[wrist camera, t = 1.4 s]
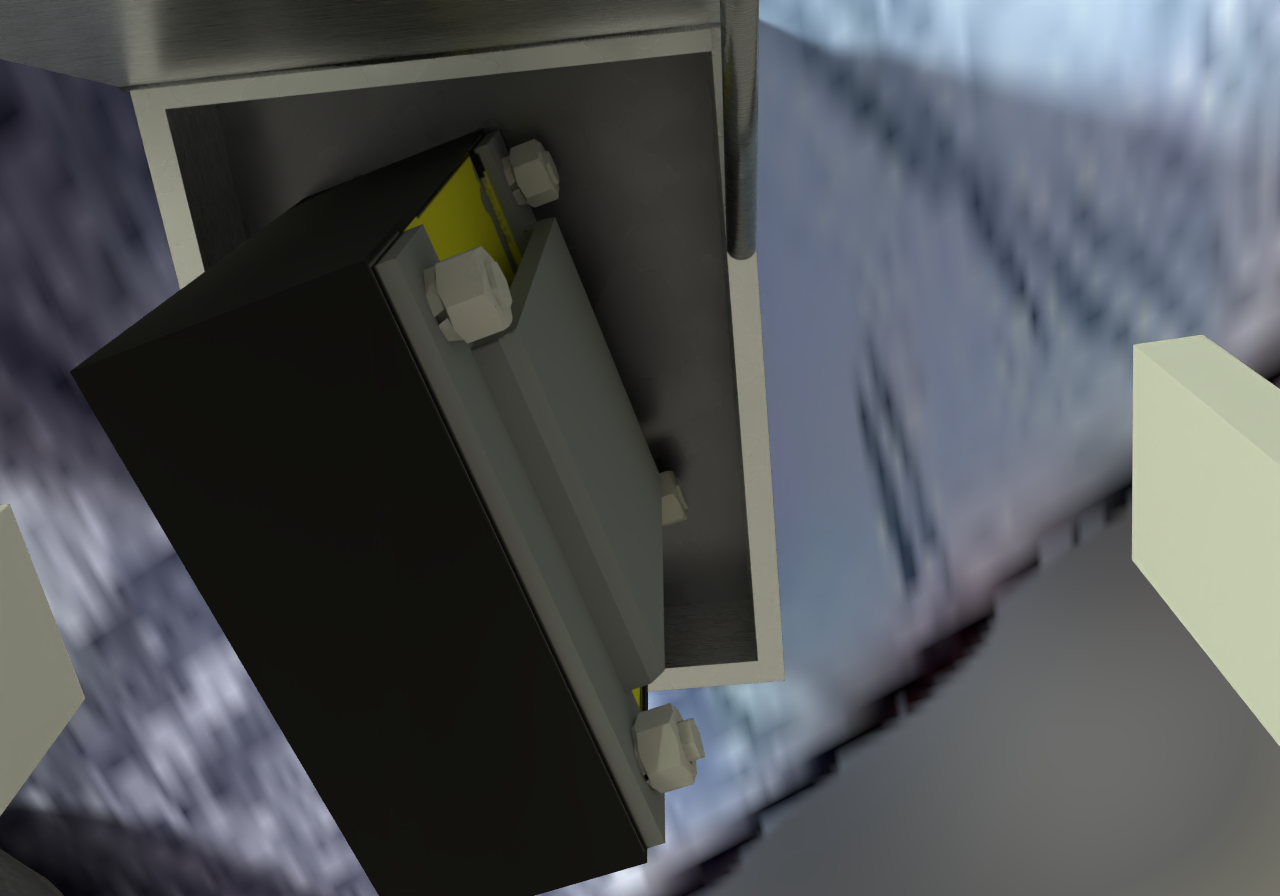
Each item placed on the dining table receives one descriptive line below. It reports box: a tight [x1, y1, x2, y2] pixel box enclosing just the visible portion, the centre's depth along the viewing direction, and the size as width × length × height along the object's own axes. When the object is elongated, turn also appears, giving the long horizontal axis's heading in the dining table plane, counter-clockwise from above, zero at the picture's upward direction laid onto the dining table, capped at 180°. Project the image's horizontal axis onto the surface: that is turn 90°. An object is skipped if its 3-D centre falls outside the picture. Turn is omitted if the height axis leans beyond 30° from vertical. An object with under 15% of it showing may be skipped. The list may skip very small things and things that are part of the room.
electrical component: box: [70, 129, 705, 896], centre depth 39 cm, size 18×10×20 cm, turn 21°
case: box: [0, 0, 785, 691], centre depth 34 cm, size 20×31×30 cm, turn 6°
